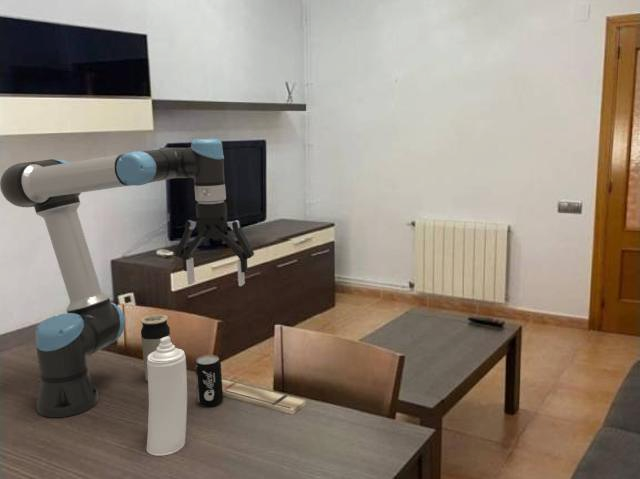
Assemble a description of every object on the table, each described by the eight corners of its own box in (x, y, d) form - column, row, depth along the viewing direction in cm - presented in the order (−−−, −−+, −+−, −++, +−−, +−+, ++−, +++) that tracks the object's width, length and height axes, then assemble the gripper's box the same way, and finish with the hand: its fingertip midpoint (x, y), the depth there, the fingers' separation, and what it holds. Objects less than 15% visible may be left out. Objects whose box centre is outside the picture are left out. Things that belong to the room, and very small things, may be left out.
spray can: (143, 434, 147) (134, 335, 142) (188, 425, 151) (180, 328, 146) (148, 459, 136) (138, 352, 131) (196, 448, 140) (188, 344, 135)
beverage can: (228, 401, 163) (225, 358, 161) (208, 410, 158) (204, 366, 156) (213, 394, 167) (210, 352, 165) (192, 402, 163) (189, 360, 160)
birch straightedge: (292, 414, 155) (292, 409, 154) (202, 390, 170) (202, 385, 170) (305, 404, 160) (305, 400, 159) (216, 381, 175) (216, 377, 175)
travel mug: (139, 378, 179) (134, 319, 175) (162, 369, 185) (157, 312, 181) (156, 385, 174) (150, 324, 170) (179, 376, 180) (174, 317, 176)
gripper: (157, 203, 153) (164, 286, 157) (254, 203, 148) (258, 289, 152) (170, 199, 160) (177, 279, 164) (263, 199, 155) (267, 281, 159)
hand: (216, 284), depth 158 cm, fingers open, 13 cm apart
